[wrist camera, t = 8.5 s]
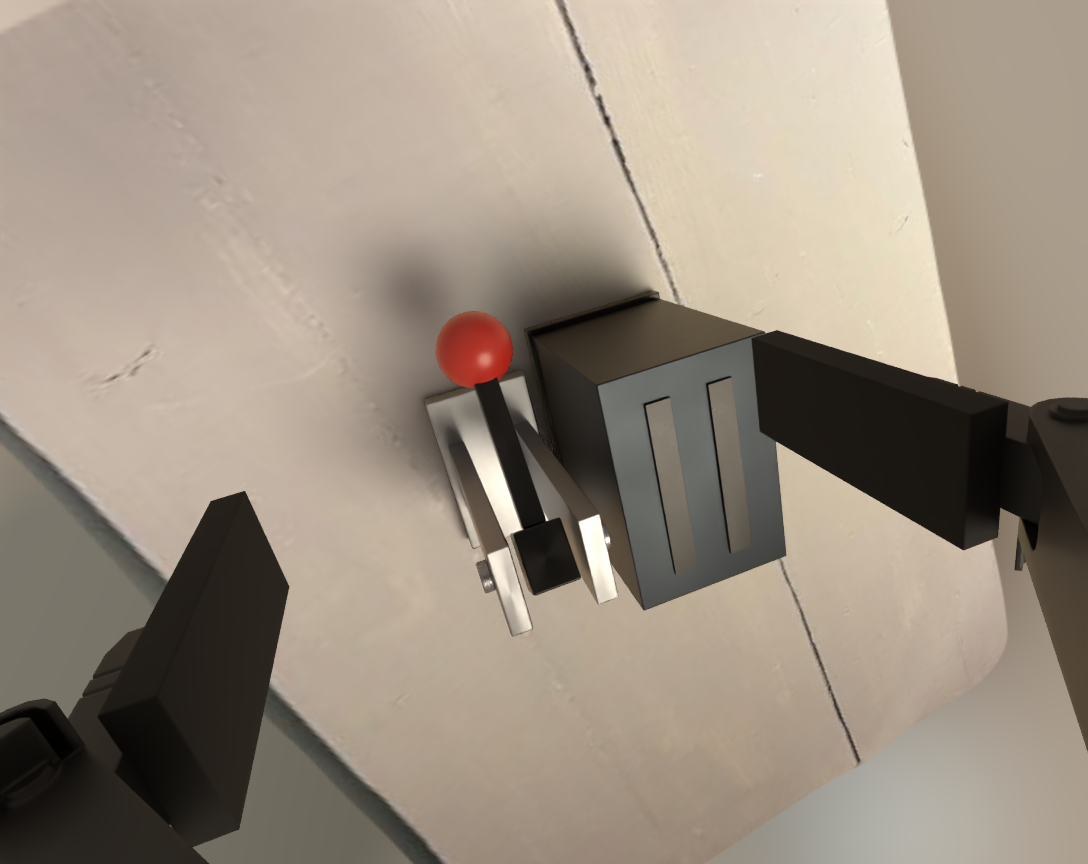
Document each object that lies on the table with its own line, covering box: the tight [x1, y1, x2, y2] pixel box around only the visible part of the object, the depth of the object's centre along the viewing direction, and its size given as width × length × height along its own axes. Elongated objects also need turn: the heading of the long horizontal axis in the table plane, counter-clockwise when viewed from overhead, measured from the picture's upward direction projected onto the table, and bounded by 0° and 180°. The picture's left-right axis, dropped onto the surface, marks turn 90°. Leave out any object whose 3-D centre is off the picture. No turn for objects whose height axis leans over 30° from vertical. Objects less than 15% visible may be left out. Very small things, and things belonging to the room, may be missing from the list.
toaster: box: [524, 291, 786, 610], centre depth 34 cm, size 13×8×12 cm
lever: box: [436, 311, 581, 595], centre depth 29 cm, size 13×4×4 cm
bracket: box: [424, 370, 618, 636], centre depth 33 cm, size 10×6×14 cm, turn 13°
